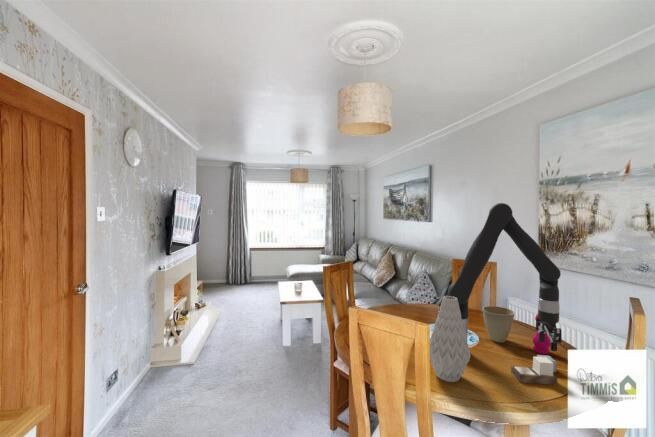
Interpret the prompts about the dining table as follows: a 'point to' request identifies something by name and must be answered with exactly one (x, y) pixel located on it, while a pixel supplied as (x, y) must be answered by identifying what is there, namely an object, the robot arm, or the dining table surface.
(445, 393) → the dining table surface
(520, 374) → the plank
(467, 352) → the vase
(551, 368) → the cube cream
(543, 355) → the cube blue
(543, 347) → the pepper mill
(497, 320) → the plant pot
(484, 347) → the dining table surface
